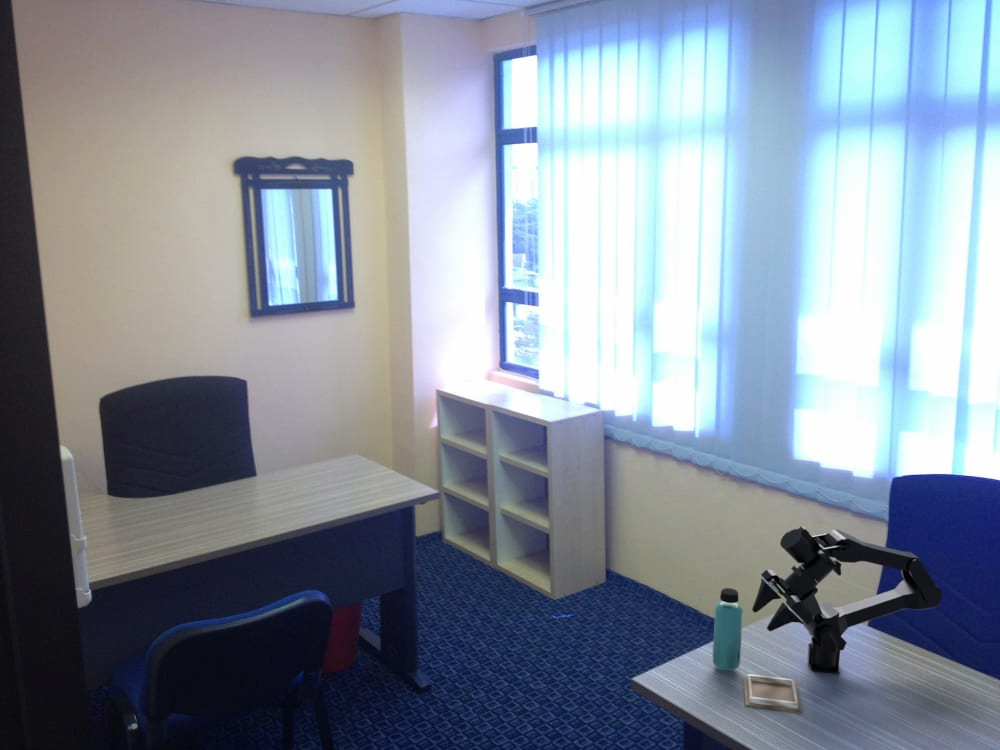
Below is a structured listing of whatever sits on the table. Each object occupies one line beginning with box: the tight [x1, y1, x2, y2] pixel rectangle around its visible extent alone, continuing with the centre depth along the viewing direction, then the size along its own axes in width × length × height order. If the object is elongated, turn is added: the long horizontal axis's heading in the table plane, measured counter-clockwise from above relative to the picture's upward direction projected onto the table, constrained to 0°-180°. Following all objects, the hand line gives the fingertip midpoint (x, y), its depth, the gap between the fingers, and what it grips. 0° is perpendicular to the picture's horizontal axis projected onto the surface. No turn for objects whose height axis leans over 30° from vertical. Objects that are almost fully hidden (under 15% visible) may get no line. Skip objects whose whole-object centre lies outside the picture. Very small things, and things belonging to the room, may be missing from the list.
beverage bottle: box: [711, 587, 743, 671], centre depth 212 cm, size 6×7×20 cm
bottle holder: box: [742, 673, 803, 714], centre depth 204 cm, size 12×12×2 cm
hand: (760, 620), depth 212 cm, fingers open, 9 cm apart
